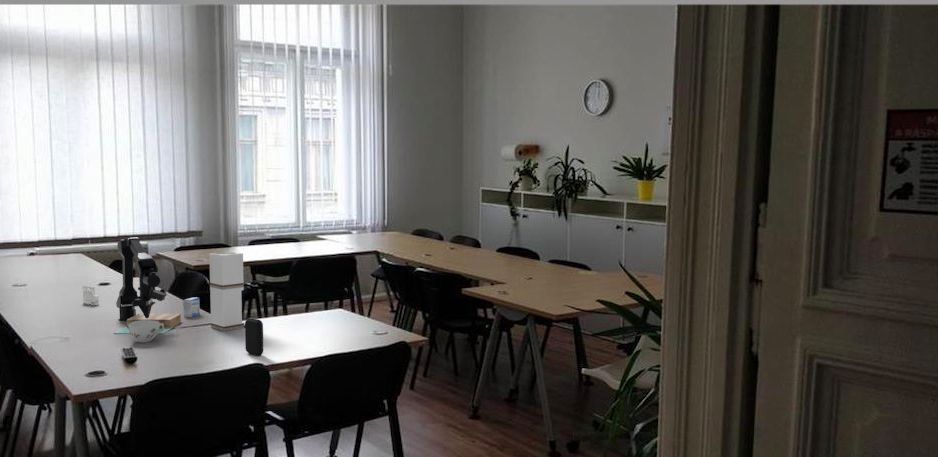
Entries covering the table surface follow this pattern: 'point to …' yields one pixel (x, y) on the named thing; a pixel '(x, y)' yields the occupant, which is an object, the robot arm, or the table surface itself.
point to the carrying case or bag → (254, 336)
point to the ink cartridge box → (90, 296)
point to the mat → (127, 331)
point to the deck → (158, 319)
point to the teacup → (144, 330)
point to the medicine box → (191, 307)
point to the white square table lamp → (226, 290)
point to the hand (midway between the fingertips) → (147, 318)
